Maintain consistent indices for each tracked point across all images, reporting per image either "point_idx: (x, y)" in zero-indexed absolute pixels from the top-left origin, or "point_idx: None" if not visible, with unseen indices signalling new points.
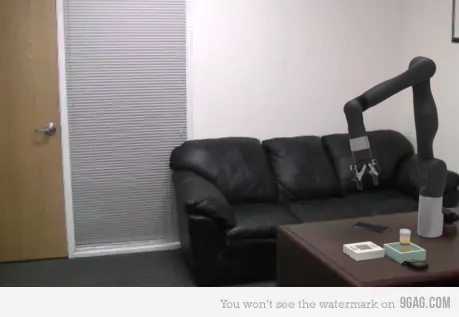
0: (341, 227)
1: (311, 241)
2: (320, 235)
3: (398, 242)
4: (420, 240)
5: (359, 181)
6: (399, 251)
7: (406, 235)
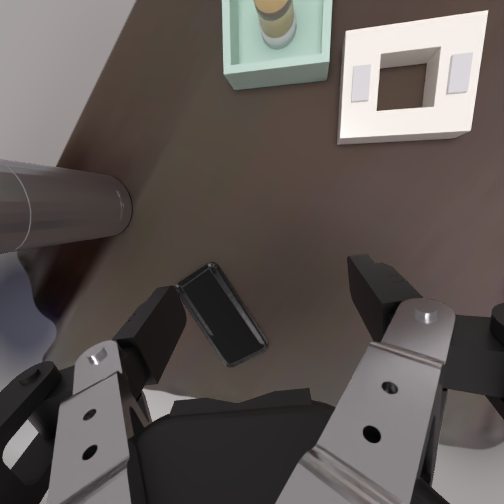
0: (302, 356)
1: (493, 279)
2: None
3: (264, 67)
4: (150, 167)
5: (401, 302)
6: (295, 17)
7: None
